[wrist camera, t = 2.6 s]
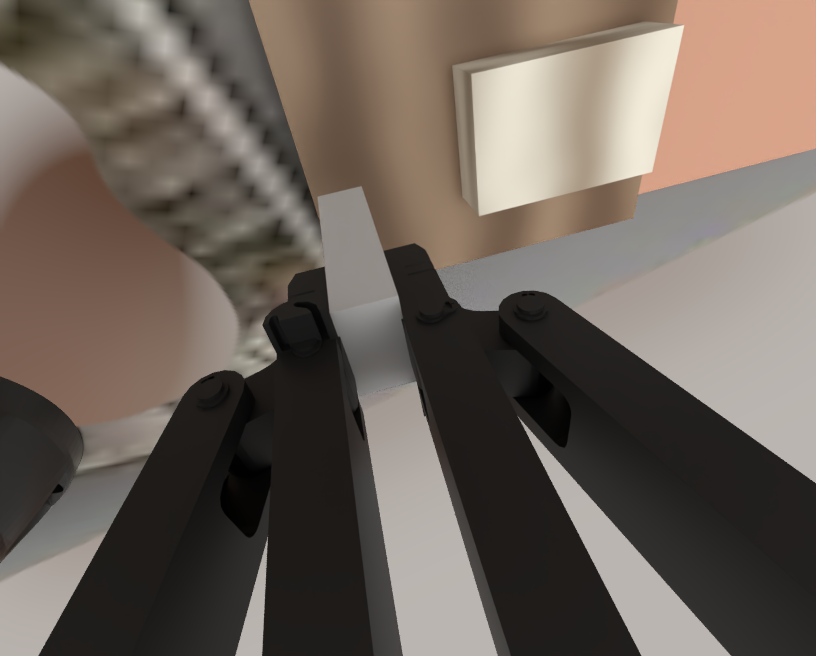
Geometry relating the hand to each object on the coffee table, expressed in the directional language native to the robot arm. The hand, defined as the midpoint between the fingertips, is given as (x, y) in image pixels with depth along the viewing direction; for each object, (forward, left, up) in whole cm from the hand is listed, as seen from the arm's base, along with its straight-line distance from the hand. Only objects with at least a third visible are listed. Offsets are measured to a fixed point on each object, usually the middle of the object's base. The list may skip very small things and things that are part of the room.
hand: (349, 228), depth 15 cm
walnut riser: (+8, 0, -11) cm, 13 cm away
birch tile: (+11, 0, -7) cm, 13 cm away
